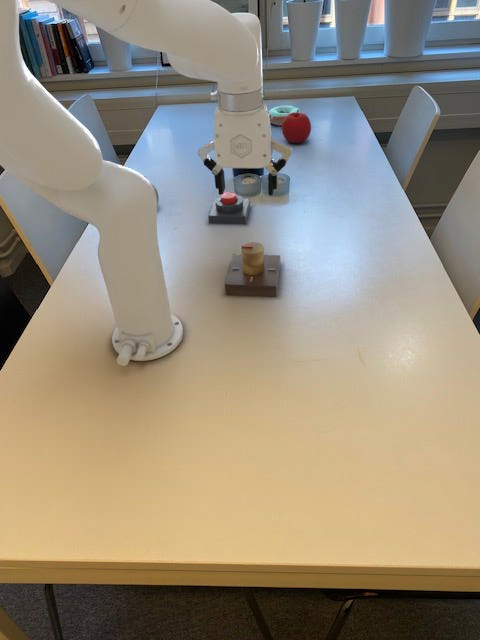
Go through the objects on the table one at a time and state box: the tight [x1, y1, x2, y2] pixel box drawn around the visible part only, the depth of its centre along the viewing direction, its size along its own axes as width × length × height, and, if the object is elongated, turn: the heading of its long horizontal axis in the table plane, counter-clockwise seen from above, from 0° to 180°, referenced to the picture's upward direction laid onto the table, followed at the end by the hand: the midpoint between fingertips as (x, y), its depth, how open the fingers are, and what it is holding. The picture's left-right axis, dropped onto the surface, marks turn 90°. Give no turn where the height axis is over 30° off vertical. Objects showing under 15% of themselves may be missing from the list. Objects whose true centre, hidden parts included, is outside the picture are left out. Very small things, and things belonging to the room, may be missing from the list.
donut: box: [268, 105, 302, 127], centre depth 171 cm, size 12×12×4 cm
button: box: [220, 191, 237, 204], centre depth 119 cm, size 4×4×2 cm
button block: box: [208, 194, 251, 225], centre depth 121 cm, size 9×9×4 cm
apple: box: [281, 109, 312, 144], centre depth 154 cm, size 9×9×10 cm
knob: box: [240, 241, 265, 275], centre depth 97 cm, size 4×4×5 cm
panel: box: [224, 253, 281, 298], centre depth 99 cm, size 11×10×3 cm
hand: (246, 192), depth 95 cm, fingers open, 9 cm apart
